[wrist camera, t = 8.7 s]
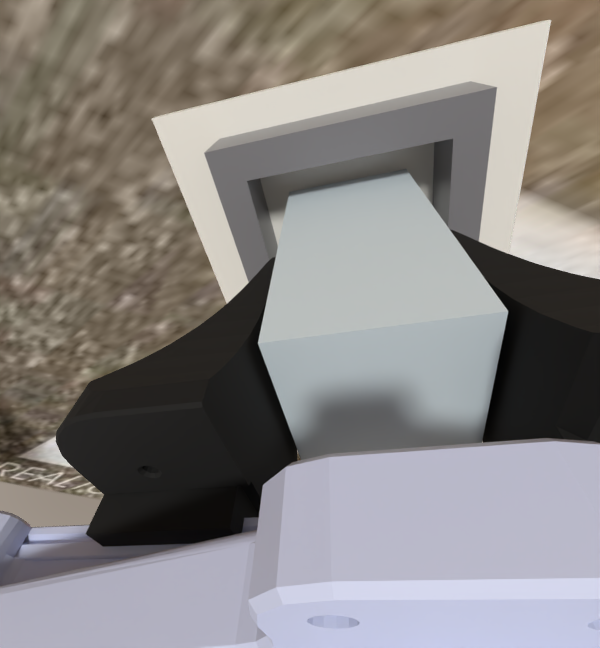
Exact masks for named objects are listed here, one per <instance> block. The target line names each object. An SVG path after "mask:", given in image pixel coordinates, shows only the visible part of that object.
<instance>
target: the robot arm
mask: <svg viewBox="0 0 600 648" xmlns="http://www.w3.org/2000/svg"><path fill="white" fill-rule="evenodd" d="M450 231H451V232H452V233H453V235H454V236H455V238H456V239H457V240H458V242H459V243H460V245H461V246H462V247H463V249H464V250H465V252H466V253H467V254H468V256H469V257H470V259H471V260H472V261H473V263H474V264H475V266H476V267H477V268H478V270H479V271H480V273H481V274H482V275H483V277H484V278H485V280H486V281H487V282H488V284H489V285H490V287H491V288H492V289H493V291H494V292H495V294H496V295H497V296H498V298H499V299H500V300H501V302H502V303H503V305H504V306H505V307H506V309H507V310H508V315H507V320H506V325H505V330H504V335H503V340H502V345H501V350H500V355H499V360H498V365H497V370H496V375H495V380H494V385H493V390H492V395H491V400H490V405H489V410H488V415H487V420H486V424H485V429H484V434H483V439H482V440H483V443H471V444H457V445H443V446H429V447H416V448H402V449H388V450H374V451H360V452H347V453H333V454H326V455H322V456H318V457H313V458H309V459H305V460H300V461H297V447H296V444H295V442H294V439H293V436H292V434H291V431H290V428H289V426H288V423H287V420H286V418H285V415H284V412H283V410H282V407H281V404H280V401H279V399H278V396H277V393H276V391H275V388H274V385H273V383H272V380H271V377H270V375H269V372H268V369H267V366H266V364H265V361H264V358H263V356H262V353H261V350H260V348H259V345H258V340H259V336H260V331H261V326H262V321H263V316H264V312H265V307H266V302H267V297H268V292H269V287H270V283H271V278H272V273H273V268H274V263H275V259H276V257H272V258H271V259H270V260H269V261H268V262H267V263H266V264H265V265H264V266H263V268H262V269H261V270H260V271H259V272H258V273H257V274H256V275H255V276H254V277H253V278H252V280H251V281H250V282H249V283H248V284H247V285H246V286H245V287H244V288H243V289H242V290H241V291H240V292H239V293H238V294H237V295H236V296H235V297H234V298H233V299H232V300H230V301H229V302H228V303H227V304H226V305H225V306H224V307H223V308H222V309H220V310H219V311H218V312H217V313H216V314H214V315H213V316H212V317H210V318H209V319H208V320H206V321H205V322H204V323H202V324H201V325H200V326H198V327H197V328H195V329H194V330H192V331H190V332H189V333H187V334H186V335H184V336H183V337H181V338H180V339H178V340H176V341H175V342H173V343H171V344H170V345H168V346H166V347H164V348H162V349H161V350H159V351H157V352H155V353H153V354H151V355H149V356H147V357H145V358H143V359H141V360H139V361H137V362H135V363H133V364H131V365H128V366H126V367H124V368H121V369H119V370H117V371H115V372H112V373H110V374H108V375H105V376H103V377H101V378H98V379H96V380H93V381H91V382H90V383H89V384H88V385H87V387H86V388H85V390H84V391H83V393H82V394H81V396H80V397H79V399H78V400H77V402H76V403H75V405H74V406H73V408H72V409H71V411H70V412H69V414H68V415H67V417H66V418H65V420H64V421H63V423H62V424H61V426H60V427H59V428H58V430H57V432H56V443H57V445H58V447H59V450H60V452H61V454H62V456H63V457H64V458H65V459H66V460H67V461H68V463H69V464H70V465H71V466H73V467H74V468H75V469H76V470H77V471H78V472H79V473H80V474H82V475H83V476H84V477H85V478H86V479H87V480H88V481H90V482H91V483H92V484H93V485H94V486H95V487H96V488H98V489H99V490H100V491H101V492H102V493H103V494H104V496H103V498H102V500H101V503H100V505H99V507H98V509H97V511H96V513H95V515H94V517H93V519H92V521H91V523H90V525H73V526H52V527H30V525H29V524H28V523H27V522H26V521H24V520H23V519H22V518H20V517H18V516H16V515H14V514H12V513H8V512H4V511H0V648H600V279H595V278H589V277H585V276H580V275H576V274H571V273H568V272H564V271H560V270H556V269H553V268H549V267H545V266H542V265H539V264H536V263H532V262H529V261H527V260H524V259H521V258H518V257H515V256H513V255H510V254H507V253H505V252H502V251H500V250H497V249H495V248H493V247H490V246H488V245H486V244H483V243H481V242H479V241H477V240H474V239H472V238H470V237H468V236H466V235H463V234H461V233H459V232H456V231H454V230H451V229H450Z"/></svg>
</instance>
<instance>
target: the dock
mask: <svg viewBox="0 0 600 648" xmlns="http://www.w3.org/2000/svg"><path fill="white" fill-rule="evenodd" d="M550 23H551V20H546V21H540V22H536V23H532V24H528V25H524V26H520V27H516V28H511V29H507V30H503V31H499V32H495V33H491V34H487V35H483V36H479V37H475V38H471V39H467V40H463V41H459V42H455V43H451V44H447V45H443V46H439V47H435V48H431V49H427V50H423V51H419V52H415V53H411V54H407V55H402V56H398V57H394V58H390V59H386V60H382V61H378V62H374V63H370V64H366V65H362V66H358V67H354V68H350V69H346V70H342V71H338V72H334V73H330V74H326V75H322V76H318V77H314V78H310V79H306V80H302V81H298V82H293V83H289V84H285V85H281V86H277V87H273V88H269V89H265V90H261V91H257V92H253V93H249V94H245V95H241V96H237V97H233V98H229V99H225V100H221V101H217V102H213V103H209V104H205V105H201V106H197V107H193V108H189V109H184V110H180V111H176V112H172V113H168V114H164V115H160V116H157V117H154V118H152V121H153V123H154V126H155V128H156V130H157V133H158V135H159V138H160V140H161V143H162V145H163V148H164V150H165V153H166V155H167V157H168V160H169V162H170V165H171V167H172V170H173V172H174V175H175V177H176V180H177V182H178V185H179V187H180V189H181V192H182V194H183V197H184V199H185V202H186V204H187V207H188V209H189V212H190V214H191V217H192V219H193V221H194V224H195V226H196V229H197V231H198V234H199V236H200V239H201V241H202V244H203V246H204V248H205V251H206V253H207V256H208V258H209V261H210V263H211V266H212V268H213V271H214V273H215V276H216V278H217V280H218V283H219V285H220V288H221V290H222V293H223V295H224V298H225V300H226V303H228V302H229V301H230V300H232V299H233V298H234V297H235V296H236V295H237V294H238V293H239V292H240V291H241V290H242V289H243V288H244V287H245V286H246V285H247V284H248V283H249V282H250V281H251V280H252V278H253V277H254V276H255V275H256V274H257V273H258V272H259V271H260V270H261V269H262V268H263V266H264V265H265V264H266V263H267V262H268V261H269V260H270V259H271V258H272V257H276V254H277V249H278V244H279V239H280V235H281V230H282V225H283V220H284V215H285V211H286V206H287V201H288V196H289V192H291V191H297V190H302V189H307V188H312V187H317V186H322V185H327V184H332V183H337V182H342V181H347V180H352V179H358V178H363V177H368V176H373V175H378V174H383V173H388V172H393V171H398V170H403V169H407V171H408V172H409V173H410V175H411V176H412V178H413V179H414V180H415V182H416V183H417V185H418V186H419V187H420V189H421V190H422V192H423V193H424V194H425V196H426V197H427V199H428V200H429V201H430V203H431V204H432V206H433V207H434V208H435V210H436V211H437V213H438V214H439V215H440V217H441V218H442V220H443V221H444V222H445V224H446V225H447V227H448V228H449V229H451V230H454V231H456V232H459V233H461V234H463V235H466V236H468V237H470V238H472V239H474V240H477V241H479V242H481V243H483V244H486V245H488V246H490V247H493V248H495V249H497V250H500V251H502V252H505V253H507V254H509V251H510V245H511V239H512V234H513V228H514V223H515V217H516V212H517V206H518V201H519V195H520V190H521V184H522V178H523V173H524V167H525V162H526V156H527V151H528V145H529V140H530V134H531V129H532V123H533V118H534V112H535V106H536V101H537V95H538V90H539V84H540V79H541V73H542V68H543V62H544V57H545V51H546V45H547V40H548V34H549V29H550Z"/></svg>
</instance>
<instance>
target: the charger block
mask: <svg viewBox="0 0 600 648" xmlns="http://www.w3.org/2000/svg"><path fill="white" fill-rule="evenodd" d="M507 315H508V310H507V309H506V307H505V306H504V305H503V303H502V302H501V300H500V299H499V298H498V296H497V295H496V294H495V292H494V291H493V289H492V288H491V287H490V285H489V284H488V282H487V281H486V280H485V278H484V277H483V275H482V274H481V273H480V271H479V270H478V268H477V267H476V266H475V264H474V263H473V261H472V260H471V259H470V257H469V256H468V254H467V253H466V252H465V250H464V249H463V247H462V246H461V245H460V243H459V242H458V240H457V239H456V238H455V236H454V235H453V233H452V232H451V231H450V229H449V228H448V227H447V225H446V224H445V222H444V221H443V220H442V218H441V217H440V215H439V214H438V213H437V211H436V210H435V208H434V207H433V206H432V204H431V203H430V201H429V200H428V199H427V197H426V196H425V194H424V193H423V192H422V190H421V189H420V187H419V186H418V185H417V183H416V182H415V180H414V179H413V178H412V176H411V175H410V173H409V172H408V171H407V169H403V170H398V171H393V172H388V173H383V174H378V175H373V176H368V177H363V178H358V179H352V180H347V181H342V182H337V183H332V184H327V185H322V186H317V187H312V188H307V189H302V190H297V191H291V192H289V196H288V201H287V206H286V211H285V215H284V220H283V225H282V230H281V235H280V239H279V244H278V249H277V254H276V259H275V263H274V268H273V273H272V278H271V283H270V287H269V292H268V297H267V302H266V307H265V312H264V316H263V321H262V326H261V331H260V336H259V340H258V345H259V348H260V350H261V353H262V356H263V358H264V361H265V364H266V366H267V369H268V372H269V375H270V377H271V380H272V383H273V385H274V388H275V391H276V393H277V396H278V399H279V401H280V404H281V407H282V410H283V412H284V415H285V418H286V420H287V423H288V426H289V428H290V431H291V434H292V436H293V439H294V442H295V444H296V447H297V450H298V453H299V455H300V458H301V460H305V459H309V458H313V457H318V456H322V455H326V454H333V453H347V452H360V451H374V450H388V449H402V448H416V447H429V446H443V445H457V444H471V443H482V439H483V434H484V429H485V424H486V420H487V415H488V410H489V405H490V400H491V395H492V390H493V385H494V380H495V375H496V370H497V365H498V360H499V355H500V350H501V345H502V340H503V335H504V330H505V325H506V320H507Z"/></svg>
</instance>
